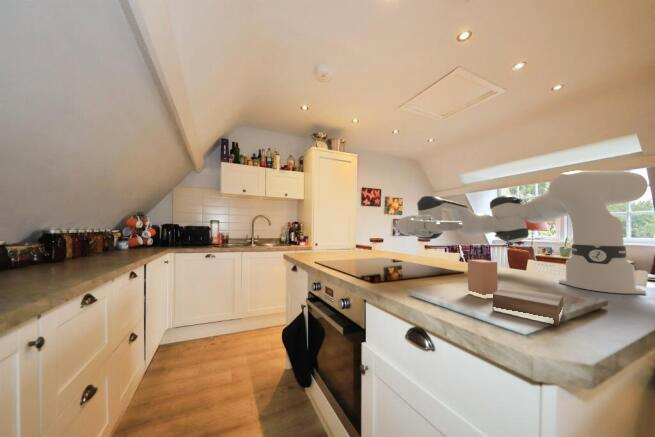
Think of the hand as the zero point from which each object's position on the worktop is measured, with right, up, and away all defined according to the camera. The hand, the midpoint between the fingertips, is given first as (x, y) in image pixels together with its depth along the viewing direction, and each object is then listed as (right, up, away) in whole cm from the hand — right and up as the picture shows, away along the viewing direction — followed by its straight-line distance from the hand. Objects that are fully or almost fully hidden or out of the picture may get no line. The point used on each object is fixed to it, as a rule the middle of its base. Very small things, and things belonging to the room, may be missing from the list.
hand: (450, 225), depth 81 cm
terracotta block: (+3, -20, -13) cm, 24 cm away
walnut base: (+5, -19, -26) cm, 32 cm away
